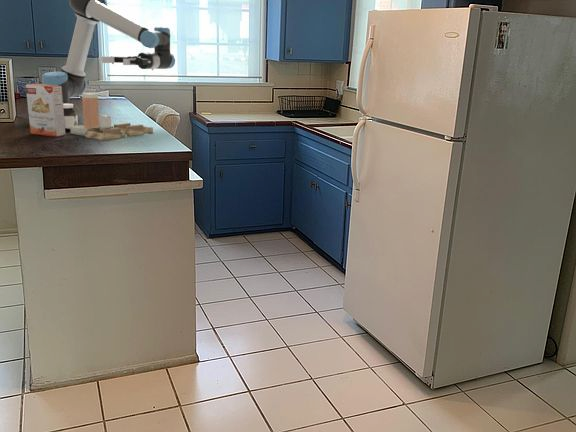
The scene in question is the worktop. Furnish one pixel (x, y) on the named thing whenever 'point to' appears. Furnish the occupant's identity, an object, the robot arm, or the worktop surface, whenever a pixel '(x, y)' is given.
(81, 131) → the tray
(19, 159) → the worktop surface
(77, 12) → the robot arm
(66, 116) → the spread jar
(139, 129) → the wooden blocks
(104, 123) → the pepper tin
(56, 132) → the cracker box
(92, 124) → the lidded box
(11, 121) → the worktop surface
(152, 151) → the worktop surface
